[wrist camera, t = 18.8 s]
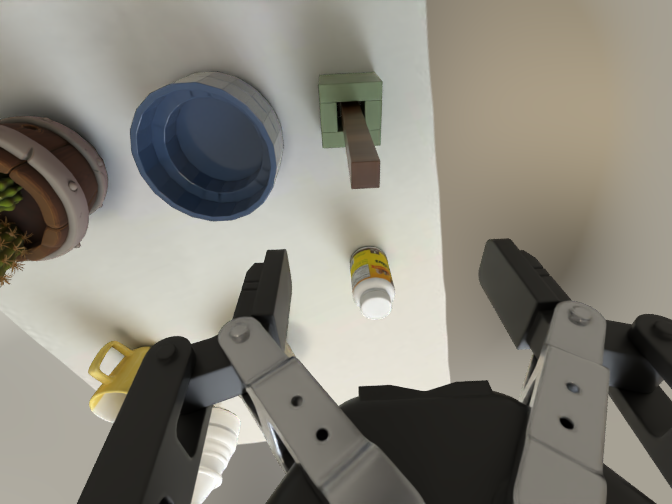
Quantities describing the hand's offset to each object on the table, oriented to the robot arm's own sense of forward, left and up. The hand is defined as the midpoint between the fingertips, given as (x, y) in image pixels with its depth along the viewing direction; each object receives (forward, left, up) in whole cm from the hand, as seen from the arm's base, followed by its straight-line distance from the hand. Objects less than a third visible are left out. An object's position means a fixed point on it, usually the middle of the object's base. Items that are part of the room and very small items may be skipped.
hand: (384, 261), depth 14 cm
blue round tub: (+3, -14, -29) cm, 33 cm away
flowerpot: (+5, -34, -29) cm, 45 cm away
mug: (+40, -37, -29) cm, 62 cm away
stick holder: (0, 0, -29) cm, 29 cm away
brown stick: (0, 0, -29) cm, 29 cm away
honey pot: (+66, -32, -29) cm, 79 cm away
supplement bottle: (+22, +3, -29) cm, 37 cm away
